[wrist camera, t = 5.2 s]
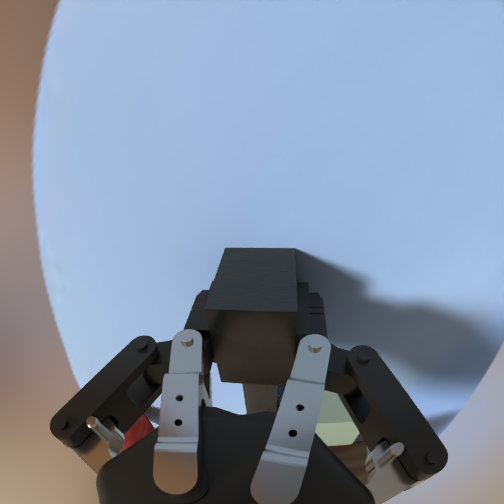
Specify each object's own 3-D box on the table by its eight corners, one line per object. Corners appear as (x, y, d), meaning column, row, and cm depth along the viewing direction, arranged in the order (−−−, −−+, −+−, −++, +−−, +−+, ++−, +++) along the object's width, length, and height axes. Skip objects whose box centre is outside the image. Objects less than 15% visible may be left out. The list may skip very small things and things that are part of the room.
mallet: (225, 248, 14) (204, 308, 10) (443, 250, 13) (481, 303, 9) (247, 413, 23) (241, 454, 19) (371, 410, 22) (377, 451, 18)
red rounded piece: (171, 413, 26) (152, 478, 19) (153, 423, 28) (136, 478, 22) (121, 388, 24) (95, 453, 17) (110, 402, 27) (88, 457, 20)
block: (296, 376, 19) (295, 423, 16) (361, 374, 19) (368, 420, 15) (292, 406, 22) (290, 446, 19) (348, 405, 21) (351, 444, 18)
